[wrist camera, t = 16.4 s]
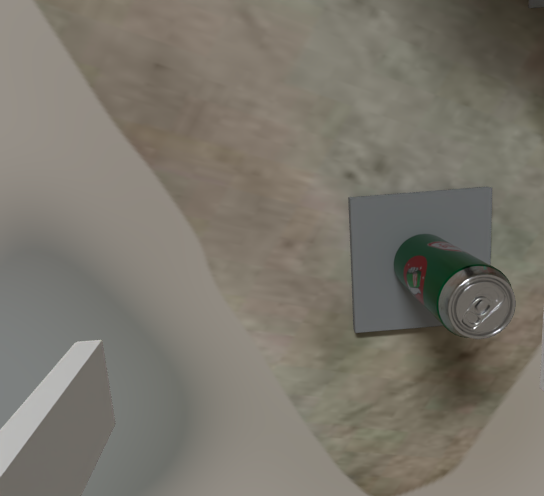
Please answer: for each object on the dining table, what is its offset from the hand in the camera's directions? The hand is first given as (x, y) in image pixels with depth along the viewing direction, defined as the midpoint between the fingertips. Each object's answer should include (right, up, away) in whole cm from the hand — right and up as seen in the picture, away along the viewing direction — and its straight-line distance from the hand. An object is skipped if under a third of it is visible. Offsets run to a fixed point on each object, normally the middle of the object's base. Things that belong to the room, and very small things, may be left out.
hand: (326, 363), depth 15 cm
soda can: (+11, +2, +29) cm, 31 cm away
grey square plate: (+11, +2, +29) cm, 32 cm away
